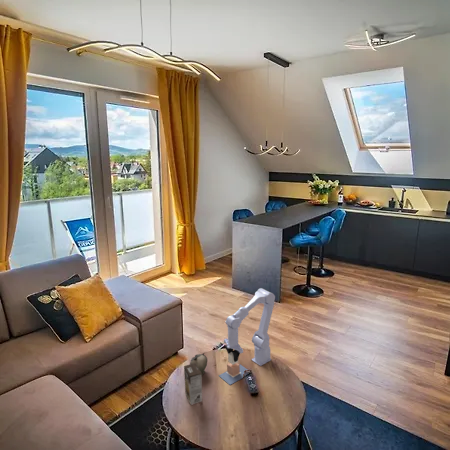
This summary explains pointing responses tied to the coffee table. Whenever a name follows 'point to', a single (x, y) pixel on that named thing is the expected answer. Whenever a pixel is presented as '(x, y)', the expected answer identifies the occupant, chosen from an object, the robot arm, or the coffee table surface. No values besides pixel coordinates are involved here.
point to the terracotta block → (233, 369)
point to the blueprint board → (233, 379)
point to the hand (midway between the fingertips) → (233, 359)
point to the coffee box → (193, 383)
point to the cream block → (231, 358)
